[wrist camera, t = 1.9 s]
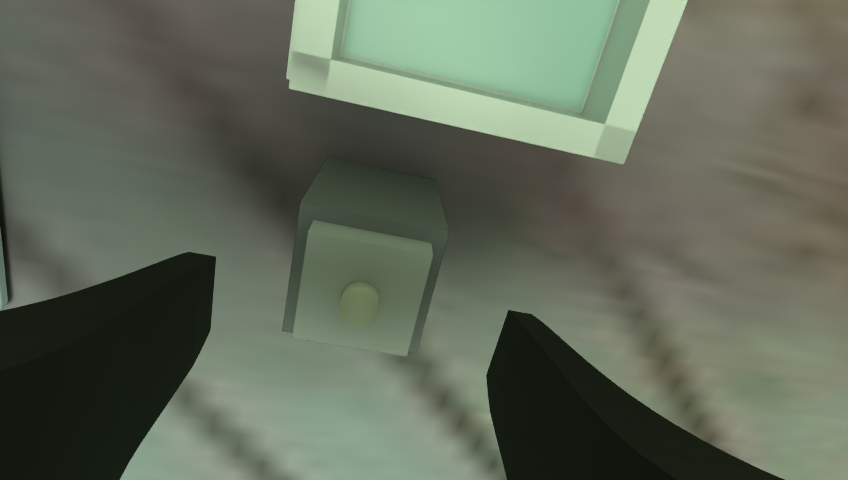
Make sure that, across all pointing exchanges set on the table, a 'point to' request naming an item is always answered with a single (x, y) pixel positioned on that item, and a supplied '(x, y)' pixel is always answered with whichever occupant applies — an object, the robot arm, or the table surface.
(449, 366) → the table surface
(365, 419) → the table surface
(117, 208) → the table surface
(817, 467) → the table surface
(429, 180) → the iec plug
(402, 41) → the pale green compartment tray
